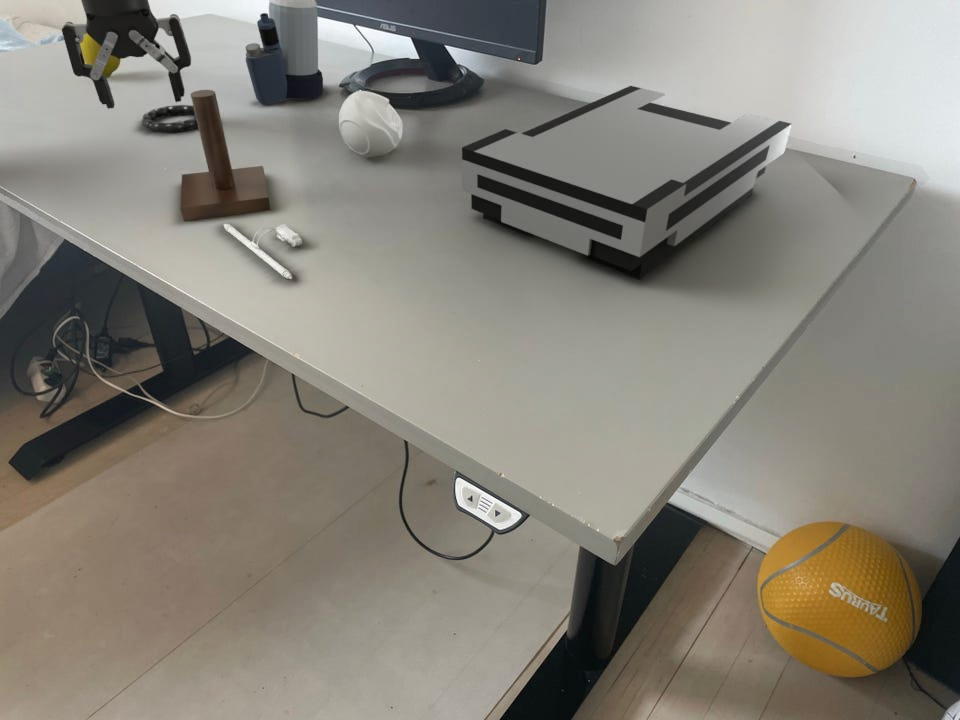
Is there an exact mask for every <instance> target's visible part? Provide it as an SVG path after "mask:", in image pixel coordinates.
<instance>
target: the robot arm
mask: <svg viewBox="0 0 960 720" xmlns="http://www.w3.org/2000/svg"><path fill="white" fill-rule="evenodd" d="M80 1H81V4H82V7H83V10H84V15H85V17H86V23H73V22H72V21H66V22H64V24H63V26H62V28H61V33H62V37H63V40H64V44H65V48H66V51H67V54H68V59H69V61H70V66H71V69H72V72H73V74H74V75H75V76H76V77H85V78H88V79H90V80H91V81H92V82H93V85H94V88H95V91H96V93H97V97H98V100H99V102H100V103H101V104H102V105H106V108H107V109H108V110H109V109H115V106H116V105H115V100H114V96H113V94H112V93H113V92H112V89H111V87H110V84H109V81H108V77H106V76H104V75H103V71H104V68H105V66H106V64H107V62H108V59H109V57H110V55H112V56H114V57H117V58H118V59H120V60H123V59H127V58H129V57H133V58H144V56H146V55H147V54H148V55H149V56H150V57H151V58H153V60H155V61H156V62H158V63H160V65H161V66H162V67H164V68H165V69H166V70H167V71H168V74H167V75H168V80H169V83H170V86H171V91H172V94H173V98H174V101H175V103H178V102H182V97H183V98H184V97H185V89H186V88H185V85H184V82H183V78H182V77H183V76H182V74H181V70H182V69H185V68H189V67H190V66H192V55H191V52H190V50H189V45H188V42H187V39H186V35H185V33H184V29H183V26H182V23H181V19H180V17H179V15H178V14H175V13H172V14H170V16H168V17H162V18H156V16H155V15H154V14H153V12H152V9H151V7H150V3H149V0H80ZM159 29H161V30H163V31H164V33H165V34H166V35H167V36H169V37H172V38H173V41H174V44H175V47H176V50H177V54H178V56H177V57H173V55H171V54H170V53H169V52H168V51H167V50H166V48H164V46H163V45H162V44H160V43H159V42H158V41H157V40H156V37H157V34H158V32H159ZM84 34H88V35H89V36H90V37H91V38H92V39H93V40H94V41H96V42H97V43H98V44H99V45H100V46H101V49H100V51H99V53H98V56H97V58H96V60H95V63H94V65H93V66H92V65H88V64H86V63H85V61H84V57H83V54H82V50H81V46H80V43H82V42H83V40H84Z"/></svg>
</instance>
